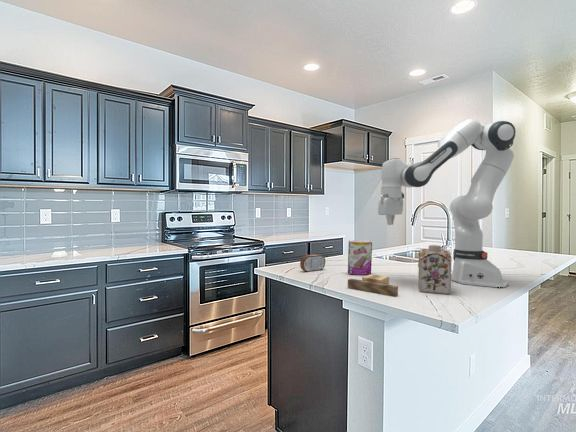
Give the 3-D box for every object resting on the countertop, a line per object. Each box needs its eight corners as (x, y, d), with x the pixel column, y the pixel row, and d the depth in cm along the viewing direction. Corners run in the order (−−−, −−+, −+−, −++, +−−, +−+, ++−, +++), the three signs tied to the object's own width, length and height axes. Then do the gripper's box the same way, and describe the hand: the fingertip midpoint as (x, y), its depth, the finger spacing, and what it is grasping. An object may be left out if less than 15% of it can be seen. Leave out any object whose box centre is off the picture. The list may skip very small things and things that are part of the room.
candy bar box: (348, 275, 164) (348, 241, 164) (347, 272, 169) (348, 240, 169) (371, 275, 163) (372, 241, 163) (370, 273, 168) (370, 240, 168)
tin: (322, 268, 179) (322, 253, 179) (326, 269, 177) (326, 253, 177) (299, 271, 171) (299, 255, 171) (303, 273, 168) (303, 256, 168)
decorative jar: (448, 288, 140) (449, 244, 140) (451, 295, 129) (452, 248, 129) (417, 285, 144) (418, 243, 144) (418, 292, 134) (419, 246, 133)
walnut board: (397, 295, 128) (398, 286, 128) (395, 296, 126) (395, 287, 126) (350, 286, 141) (350, 278, 141) (347, 287, 139) (347, 279, 139)
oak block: (388, 288, 139) (389, 276, 138) (380, 292, 132) (380, 280, 132) (370, 285, 144) (370, 274, 144) (362, 289, 138) (362, 277, 137)
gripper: (388, 193, 143) (387, 226, 144) (405, 195, 159) (405, 224, 160) (374, 193, 147) (374, 225, 148) (392, 195, 163) (392, 223, 164)
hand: (390, 224), depth 154 cm, fingers closed
